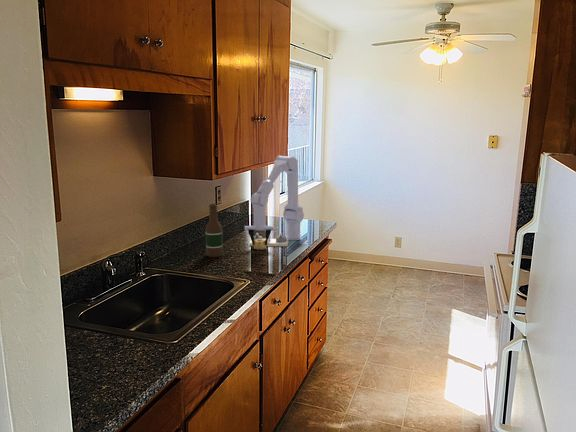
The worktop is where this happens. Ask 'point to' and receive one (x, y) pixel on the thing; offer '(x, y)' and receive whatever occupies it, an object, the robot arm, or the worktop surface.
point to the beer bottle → (214, 234)
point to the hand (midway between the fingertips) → (259, 244)
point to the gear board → (273, 240)
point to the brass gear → (259, 244)
